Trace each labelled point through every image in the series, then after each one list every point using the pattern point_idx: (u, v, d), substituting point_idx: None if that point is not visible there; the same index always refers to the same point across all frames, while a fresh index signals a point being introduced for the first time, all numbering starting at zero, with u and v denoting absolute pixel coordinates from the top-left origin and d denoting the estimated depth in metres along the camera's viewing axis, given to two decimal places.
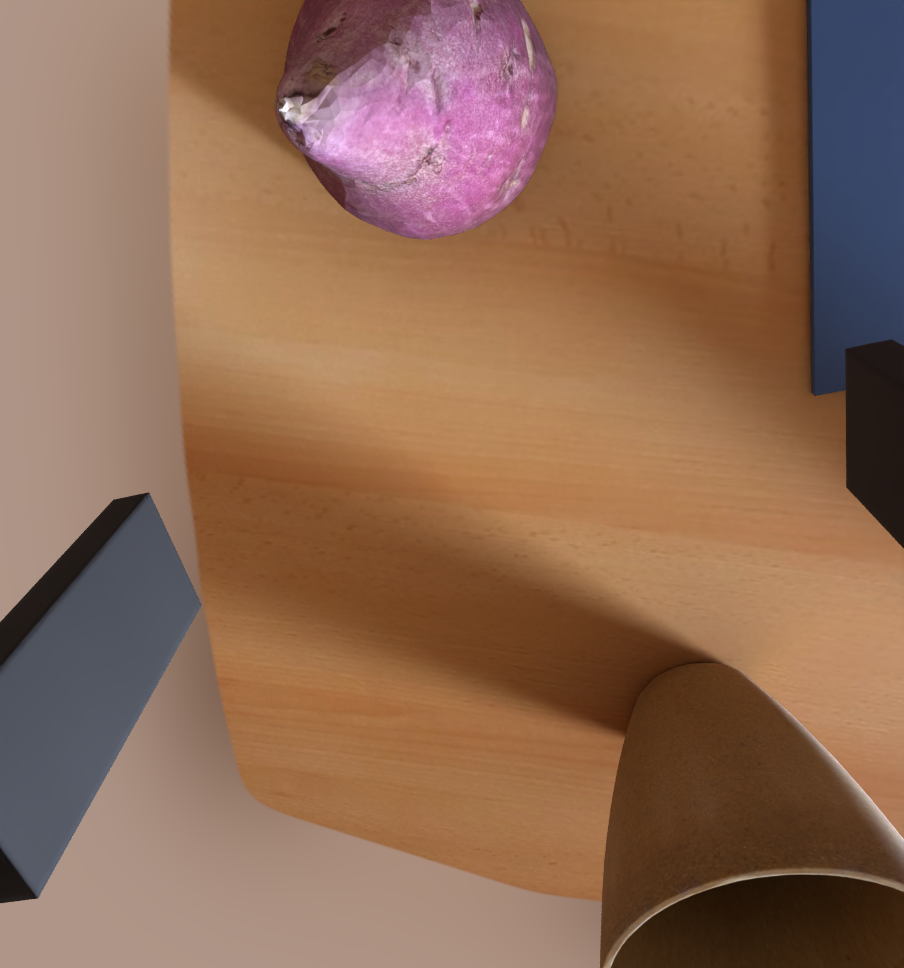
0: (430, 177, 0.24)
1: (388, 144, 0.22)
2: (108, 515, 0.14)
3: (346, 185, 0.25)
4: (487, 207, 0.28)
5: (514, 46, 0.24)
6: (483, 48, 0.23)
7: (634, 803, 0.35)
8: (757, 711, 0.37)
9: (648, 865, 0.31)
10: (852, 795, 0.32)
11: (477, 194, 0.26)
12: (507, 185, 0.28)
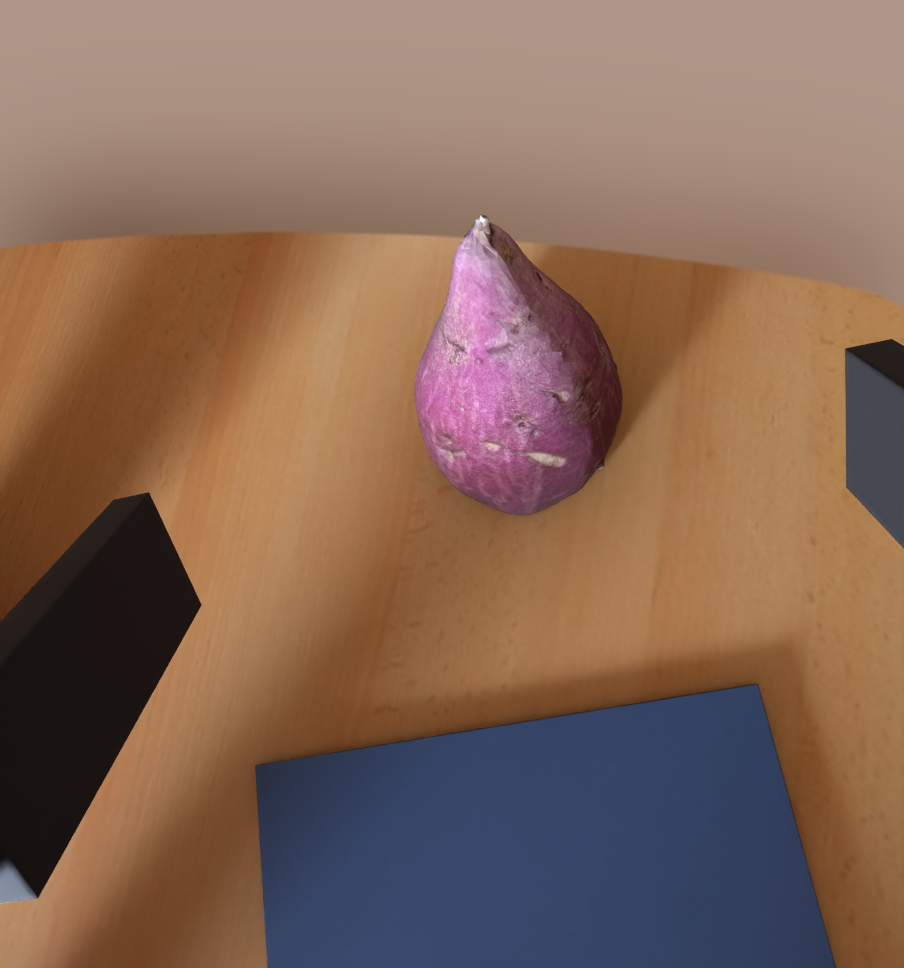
0: (447, 356, 0.32)
1: (464, 308, 0.30)
2: (108, 514, 0.14)
3: None
4: (431, 426, 0.35)
5: (539, 432, 0.33)
6: (532, 395, 0.31)
7: None
8: None
9: None
10: None
11: (438, 408, 0.34)
12: (447, 443, 0.35)
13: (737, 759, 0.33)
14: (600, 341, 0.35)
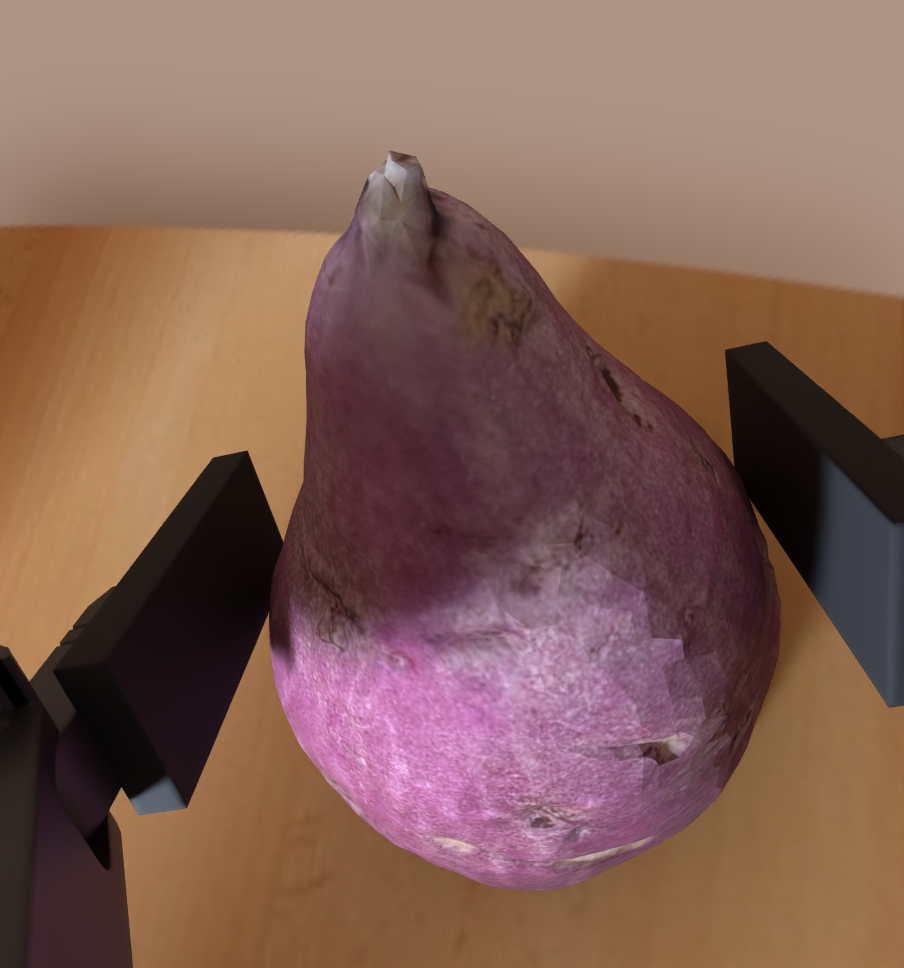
0: (311, 613, 0.10)
1: (345, 498, 0.08)
2: (212, 470, 0.15)
3: None
4: (299, 743, 0.13)
5: (593, 829, 0.11)
6: (579, 762, 0.10)
7: None
8: None
9: None
10: None
11: (305, 724, 0.12)
12: (341, 789, 0.13)
13: None
14: None
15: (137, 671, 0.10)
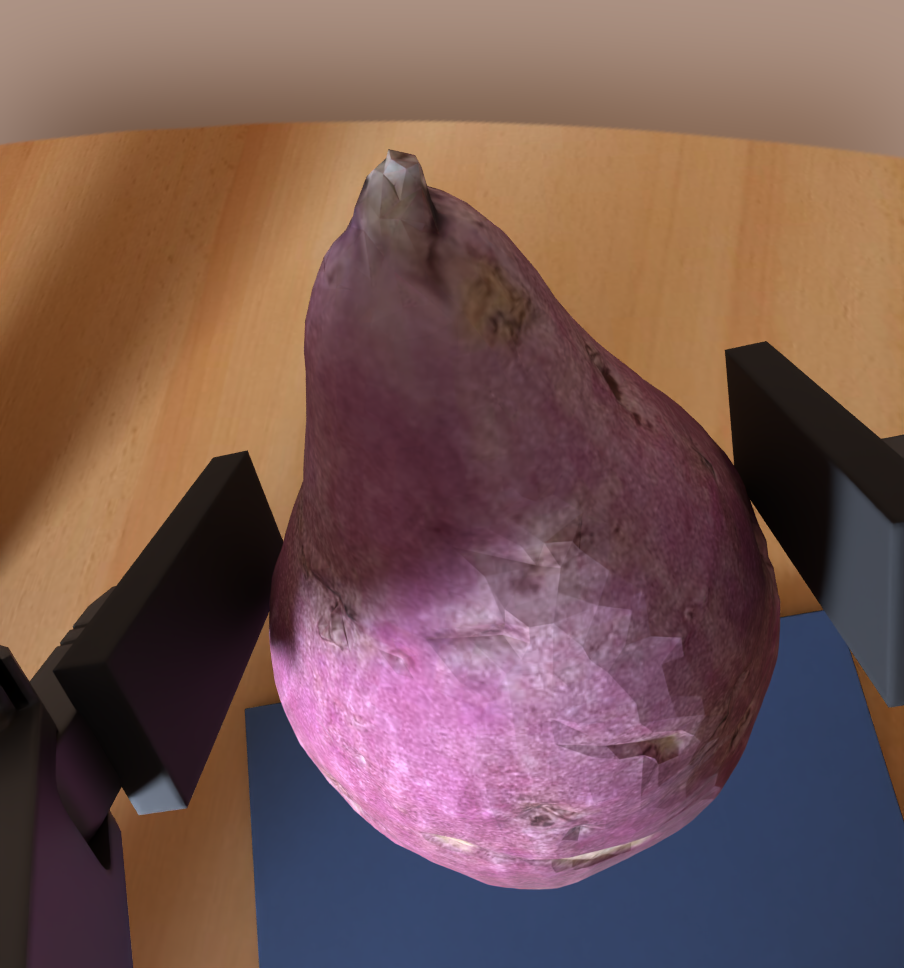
0: (312, 611, 0.10)
1: (345, 496, 0.08)
2: (211, 470, 0.15)
3: None
4: (299, 741, 0.13)
5: (592, 828, 0.11)
6: (578, 760, 0.10)
7: None
8: None
9: None
10: None
11: (304, 723, 0.12)
12: (340, 788, 0.13)
13: (814, 695, 0.28)
14: None
15: (138, 671, 0.10)
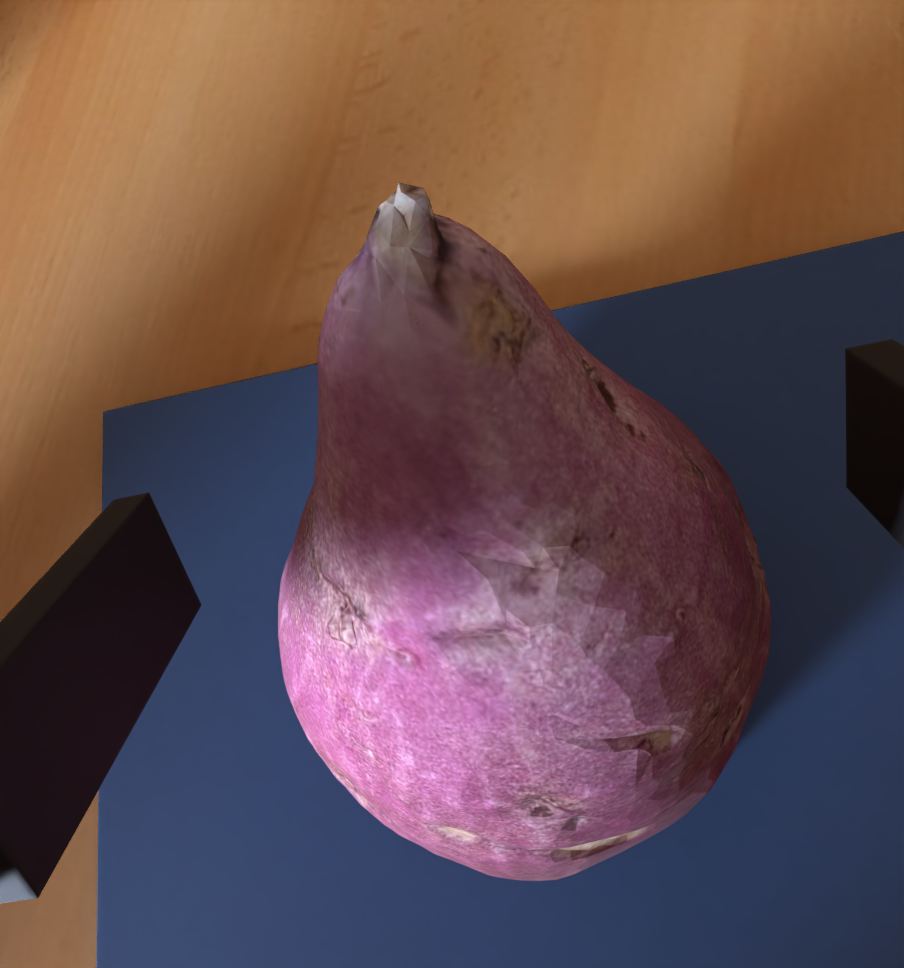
0: (322, 612, 0.11)
1: (355, 503, 0.09)
2: (107, 514, 0.14)
3: None
4: (307, 737, 0.14)
5: (590, 819, 0.11)
6: (576, 753, 0.10)
7: None
8: None
9: None
10: None
11: (313, 719, 0.12)
12: (348, 782, 0.14)
13: (888, 337, 0.20)
14: (741, 526, 0.14)
15: None
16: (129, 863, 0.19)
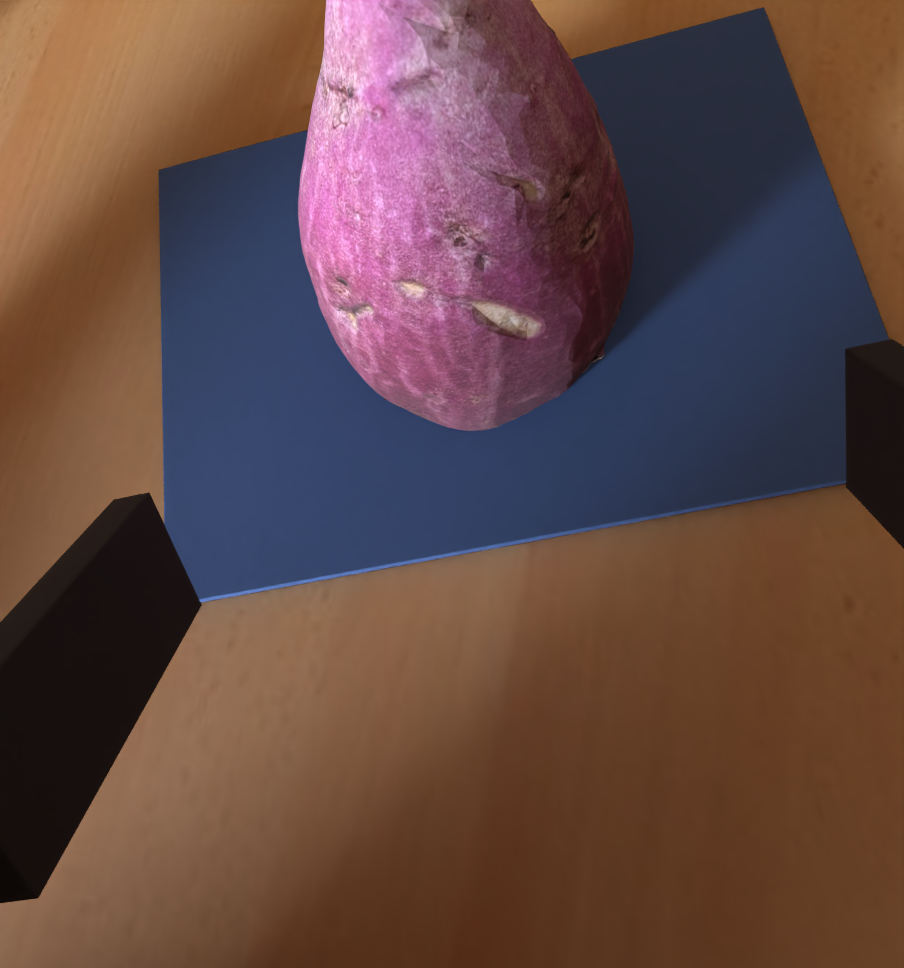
0: (329, 117, 0.18)
1: (348, 1, 0.16)
2: (108, 514, 0.14)
3: None
4: (318, 267, 0.21)
5: (492, 261, 0.19)
6: (476, 180, 0.17)
7: None
8: None
9: None
10: None
11: (323, 225, 0.20)
12: (344, 295, 0.21)
13: (738, 80, 0.27)
14: (600, 129, 0.21)
15: None
16: (187, 457, 0.27)
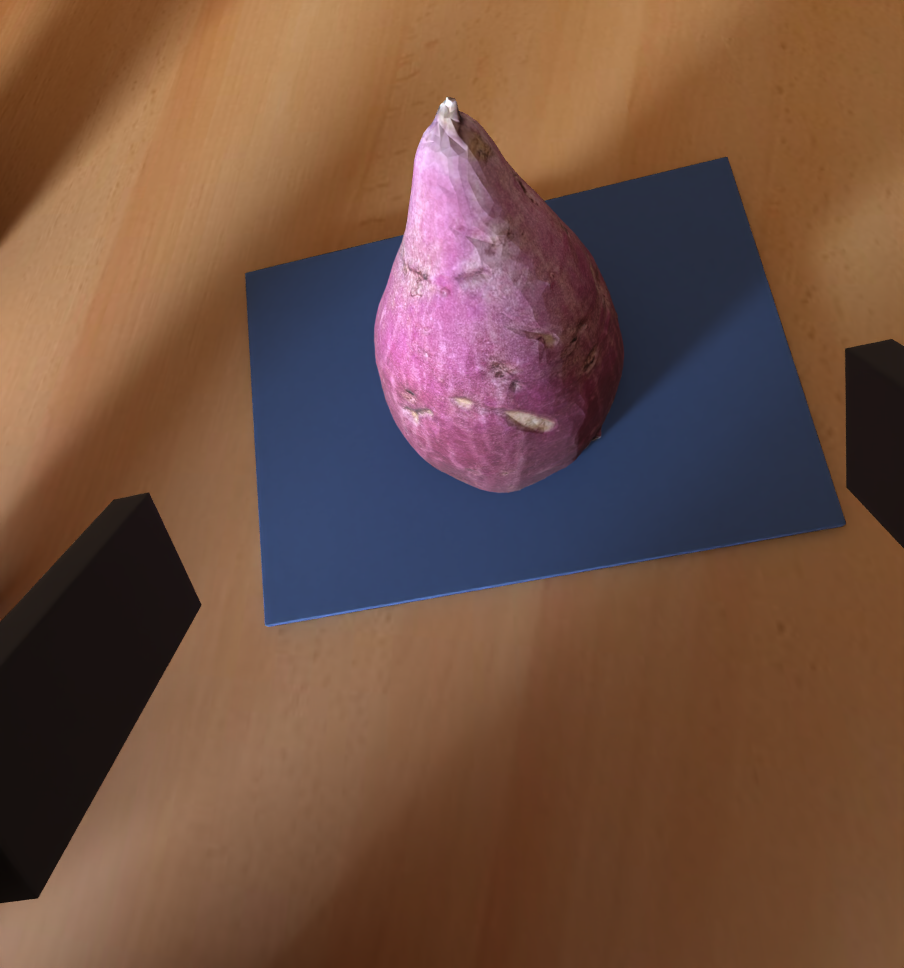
0: (407, 288, 0.26)
1: (426, 222, 0.24)
2: (108, 514, 0.14)
3: None
4: (391, 380, 0.29)
5: (521, 386, 0.26)
6: (512, 335, 0.25)
7: None
8: None
9: None
10: None
11: (398, 355, 0.27)
12: (411, 401, 0.29)
13: (706, 216, 0.35)
14: (598, 280, 0.29)
15: None
16: (277, 509, 0.34)
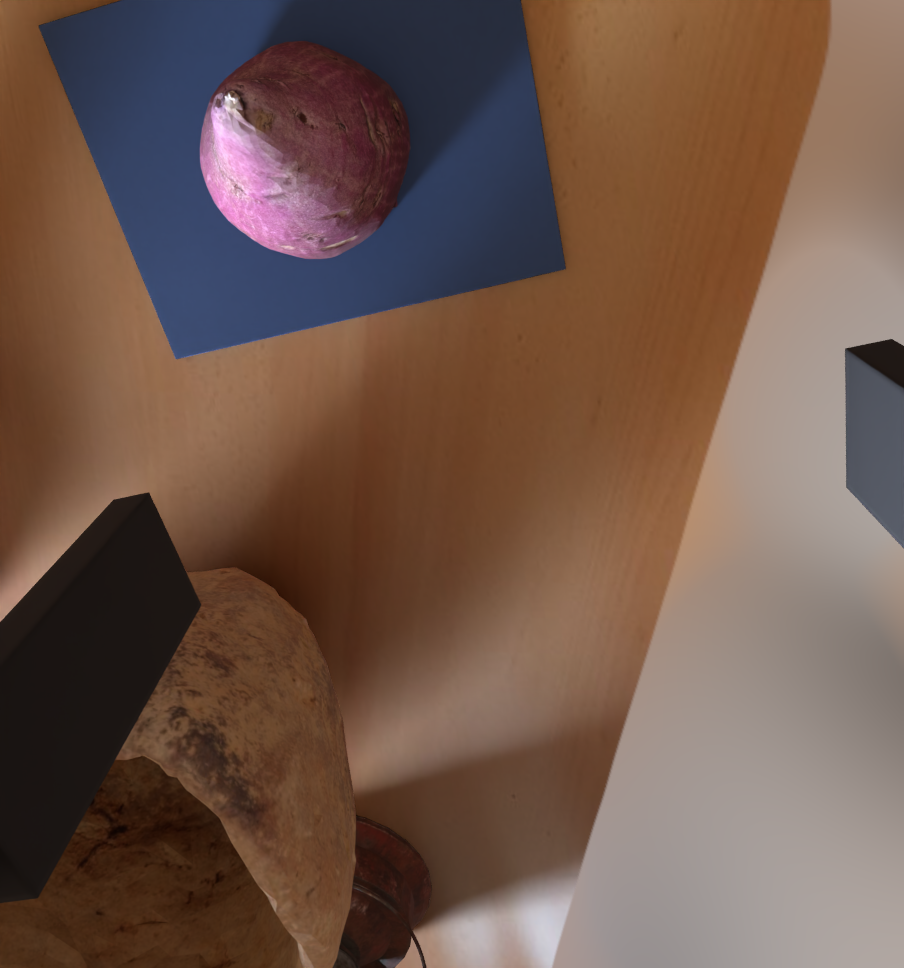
0: (227, 185, 0.33)
1: (233, 163, 0.31)
2: (107, 514, 0.14)
3: None
4: None
5: (327, 238, 0.36)
6: (315, 222, 0.34)
7: None
8: None
9: None
10: None
11: (230, 216, 0.36)
12: (246, 233, 0.38)
13: None
14: (377, 121, 0.35)
15: None
16: (155, 273, 0.44)
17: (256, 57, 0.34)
